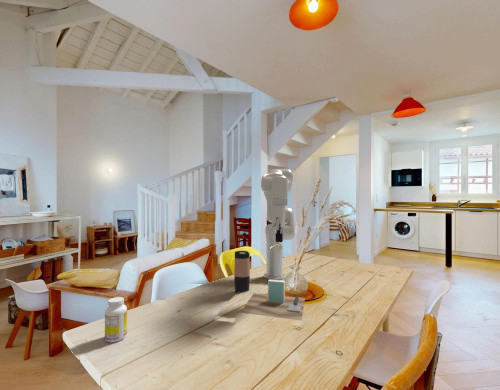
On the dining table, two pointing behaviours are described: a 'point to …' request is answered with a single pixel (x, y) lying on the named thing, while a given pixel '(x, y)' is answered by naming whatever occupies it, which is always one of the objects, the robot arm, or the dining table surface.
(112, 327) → the supplement bottle
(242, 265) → the travel mug
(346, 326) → the dining table surface
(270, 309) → the board
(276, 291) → the tile
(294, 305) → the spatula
